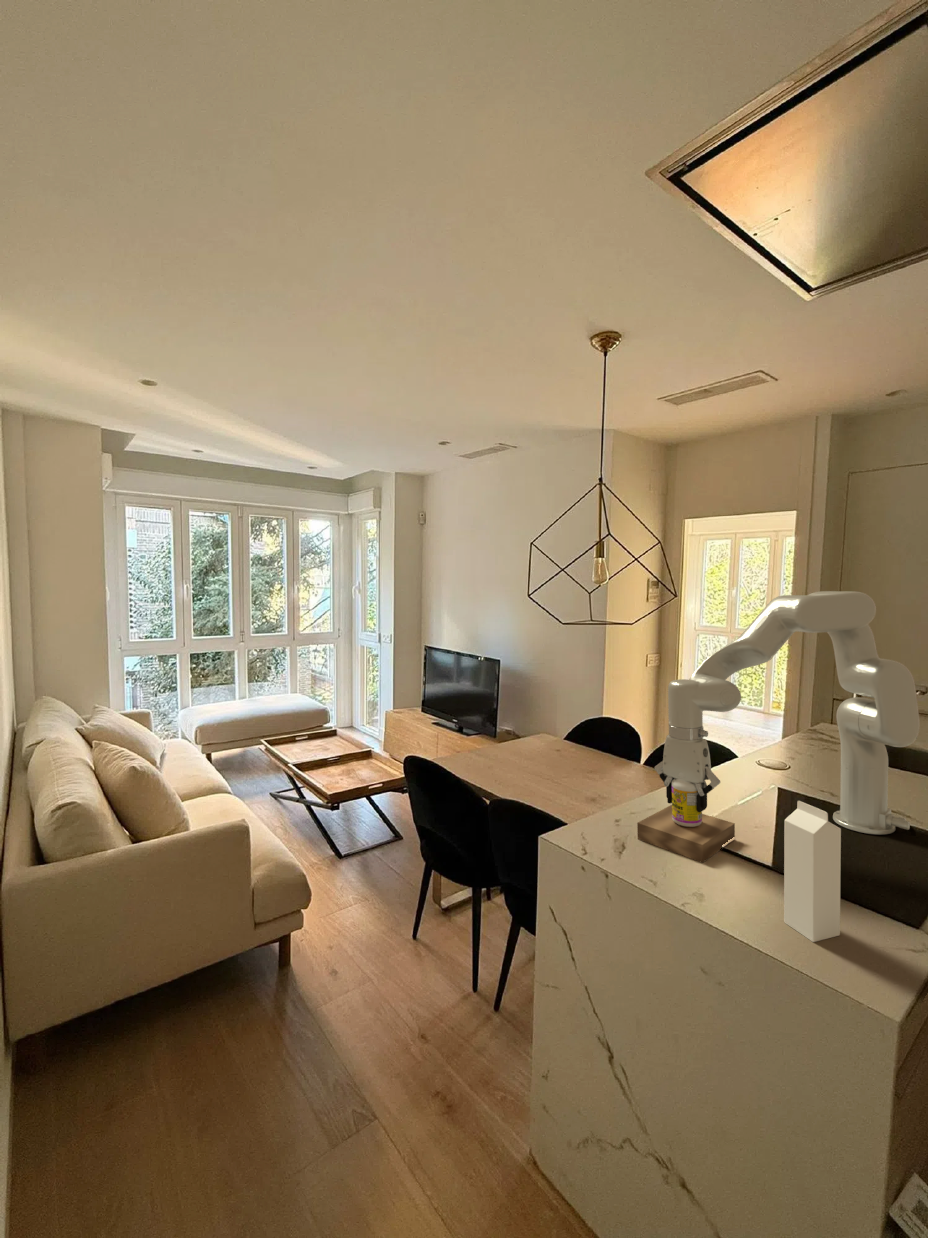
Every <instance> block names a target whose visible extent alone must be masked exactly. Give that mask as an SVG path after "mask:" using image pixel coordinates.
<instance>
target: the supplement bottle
mask: <svg viewBox="0 0 928 1238" xmlns="http://www.w3.org/2000/svg"><path fill="white" fill-rule="evenodd" d="M678 776H680V778H683V777H685V776H684V775H683V773H681V772H680V773H679V775H678ZM698 794H699V793H698V790H697V788H696V786H695V783H692V782H688V781H685V780H683V779H676V778H674V779H673V780H672V803H671V805H672V819H673V821H674V822H675V823H677V824H678V825H681V826H685V827H695V826H699V825H700V824H701V823H702V814H703V811H702V812H698V811H697V795H698Z"/></svg>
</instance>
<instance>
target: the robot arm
mask: <svg viewBox="0 0 928 1238" xmlns="http://www.w3.org/2000/svg"><path fill="white" fill-rule="evenodd" d="M876 614H877V607H876V603H875V601H874V599H873V598H872V597H871V596H870V595H868V594H867V593H866V592H865V593H864V592H862V591H861V592H860V591H851V590H850V591H841V590H840V591H839V590H838V591H837V590H836V591H835V590H831V591H830V590H824V591H823V590H822V591H820V590H819V591H814V592H812V593H809V594H807V595H805V594H804V595H803V594H802V595H801V594H799V595H798V594H794V595H793V594H792V595H791V594H786V595H780V596H776V597H775V598H773V599H772V600H770V601H769V603H768V604H767V605H766V606H765V607H764V608H763V609H762V610H761V611H760V613H758V614H757V616H756V618H755V619H754V620H752V622H751V623H750V624H749V625H748V627H747V628H746V629H745V630H743V632H742V634H741V635H739V636H738V637H737V638H735V640H733V641H731V642H729V643H727V644H726V645H725V646H722V648H719V649H718V650H717V651H715V652H713V653H712V654H710V655H709V656H708V657H707V658H706V659H705V660H704V661H702V663H701V664H700V665H699V666H698V667H697V669H696V670H695V671H694V672H693V673H692V675H691V676H690V678H688V679H682V678H681V679H673V680H671V681H670V682H669V683H668V686H667V699H668V700H667V701H668V702H667V703H668V705H667V706H668V707H667V708H668V711H667V712H668V713H667V714H668V735H666V738H665V741H664V748H663V753H662V754H663V755H662V757H663V758H662V761H660V762H659V763H657V764H656V765H655V766H654V770H655V771H656V773H657V774H658V775H659V778H660V780H661V781H662V782H663V785H664V787H666V788H665V789H666V791H665V792H666V793H665V794H666V798H667V803H668V804H670V805H671V804H672V780H673V779H674V778H676V779H683V780H685V781H688V782H692V783H695V786H696V788H697V790H698V793H699V794H698V795H697V811H698V812H702V813H703V812H704V811H705V810H706V809H707V807H708V794H709V793H710V792H712V791H713V790H714V789H715V788H716V787H718V785H720V784H721V780H720V779H719V778H718V777H717V776H716V774H715V773H714V772H713V771H712V765H711V763H712V762H711V754H710V748H709V745H708V741H707V739H706V738H708V736H709V731H708V730H705V729H704V725H703V723H704V721H703V720H704V719H703V716H704V715H703V712H705V711H706V712H707V711H708V712H717V713H726V712H731V711H733V710H734V709H736V708H737V707H738V706H739V705H740V702H741V700H742V694H741V691H740V689H739V688H738V686H737V685H736V684H734V683H733V682H731V681H729V680H727V679H728V678H729V677H731V676H733V674H736V673H737V672H740V671H741V670H744V669H747V668H752V667H756V666H758V665H759V666H760V665H762V664H765V663H768V662H770V661H771V660H772V659H773V658H774V656H775V655H776V654H777V653H778V652H779V651H780V649H781V648H782V647H783V646H784V645H785V644H786V642H787V641H788V640H790V638H791V637H792V636H793V634H794V633H795V632H800V633H801V632H802V633H811V634H812V633H813V634H814V633H827V634H828V635H829V637H830V639H831V642H832V646H833V651H834V652H833V653H834V660H835V665H836V666H835V667H836V674H837V679H838V683H839V685H840V687H841V688H842V689H844V691H846V692H849V693H850V694H855V695H860V696H863V697H857V696H856V697H850V698H847V699H845V700H843V701H842V702H841V703H840V704H839V706H838V708H837V710H836V724H837V728H838V734H839V739H840V795H839V796H840V802H839V803H840V804H839V805H840V807H839V810H836V811H834V812H833V815H832V819H833V821H834V822H835V823H836V824H838V825H839V826H841V827H843V828H845V829H848V830H851V831H854V832H858V833H864V834H868V835H880V836H881V835H890V834H893V833H894V832H895V831H896V827H897V828H899V829H902V830H903V829H904V830H907V831H908V830H910V828H911V827H910V826H911V822H910V821H908V820H907V819H906V818H905V817H901V816H896V815H895V814H893V813H892V809H891V808H889V805H888V803H889V802H888V801H889V799H888V797H889V796H888V794H889V788H888V787H889V784H888V783H889V756H888V752H887V747H886V745H887V746H890V747H893V748H894V747H895V748H904V747H905V748H906V747H908V746H910V745H912V744H913V743H914V742H915V741H916V740H917V738H918V736H919V734H920V733H919V732H920V727H921V726H920V725H921V722H920V721H921V720H920V712H919V704H918V698H917V689H916V683H915V679H914V676H913V674H912V672H911V671H910V670H909V668H908V667H907V666H906V665H905V664H903V663H902V662H899V661H897V660H893V659H887V658H880V656H879V654H878V650H877V646H876V640H875V635H874V632H873V630H872V628H871V626H870V623H871V622H872V621H873V620H874V618H875V617H876ZM866 697H868V698H866ZM871 698H872V699H871ZM704 737H706V738H704ZM680 772H681V773H683V775H684V776H685V777H683V778H680V776H678V775H679V773H680ZM708 780H709V781H710V783H708V784H707V782H706V781H708Z"/></svg>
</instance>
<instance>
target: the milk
mask: <svg viewBox="0 0 928 1238" xmlns="http://www.w3.org/2000/svg"><path fill="white" fill-rule="evenodd" d="M796 805H797V806H796V807H797V808H796V809H795V810H794V811H793V812H792V813H791V814H789V815H788V816H787V817H786V818H785V819H784V831H783V832H784V833H783V834H784V835H783V836H784V840H783V841H784V844H783V845H784V846H783V847H784V854H783V855H784V856H783V857H784V860H783V861H784V864H783V867H784V868H783V869H784V870H783V873H784V875H783V876H784V881H783V882H784V883H783V888H784V889H783V899H784V900H783V906H784V907H783V909H784V910H783V913H784V914H783V922H784V923H785V924H786V925H788V927H790V928H792V929H794V931H796V932H797V933H799V934H800V935H801V936H803V937H805V939H808V940H809V941H811V942H812V943H816V942H819V941H824V940H827V939H830V938H831V939H832V938H834V937H838V936H840V935H841V871H842V870H841V866H842V865H841V859H842V858H841V854H842V851H841V850H842V849H841V848H842V837H841V836H842V828H841V827H838V826H837V825H835V824H833V823H832V822H830V821H829V813H828V812H827V811H825V810H822V809H821V808H818V807H816V806H813V805H810V804H808V803H806V802H803V801H801V800H797V804H796Z"/></svg>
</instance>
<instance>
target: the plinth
mask: <svg viewBox="0 0 928 1238" xmlns="http://www.w3.org/2000/svg"><path fill="white" fill-rule="evenodd" d="M636 824H637V826H636V827H637V839H638V840H639V841H642V842H645V843H647V844H650V845H653V846H656V847H659V848H661V849H664V850H667V851H669V852H672V853H675V854H678V855H680V856H682V857H686V858H688V859H691V860H694V861H696V862H699V863H704V862H706V861H707V860H708V859H710V858H711V857H713V856H714V855H715V854H717V853H718V852H719V851H721V850H722V849H721V847H722V845H723V844H725V843H726V842H728V840H730V839H732V838H733V837H736V835H735V833H736V828H735V824H736V823H734V822H731V821H728V820H724V819H722V818H717V817H715V816H711V815H708V814H705V813H702V823H701V824H700V825H699V826H695V827H685V826H681V825H678V824H677V823H675V822H674V821H673V819H672V804H670V805H668V806H667V807H664V808H662V809H660V810H659V811H656V812H655V813H654V814H651V815H650V816H648V817H646V818H643V819H642V820H639V822H637V823H636ZM720 849H721V850H720Z"/></svg>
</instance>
